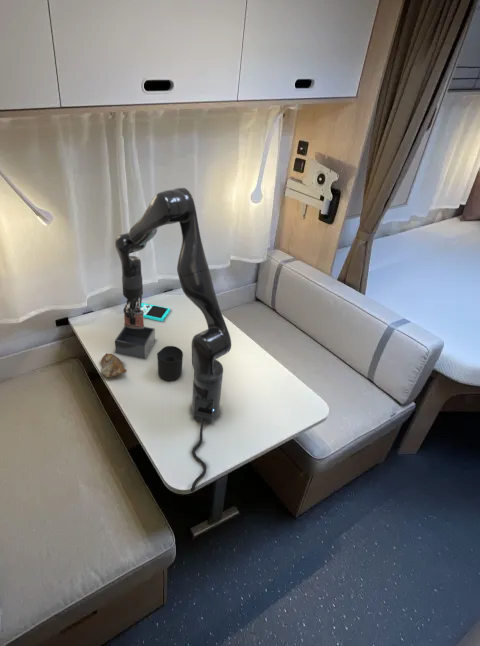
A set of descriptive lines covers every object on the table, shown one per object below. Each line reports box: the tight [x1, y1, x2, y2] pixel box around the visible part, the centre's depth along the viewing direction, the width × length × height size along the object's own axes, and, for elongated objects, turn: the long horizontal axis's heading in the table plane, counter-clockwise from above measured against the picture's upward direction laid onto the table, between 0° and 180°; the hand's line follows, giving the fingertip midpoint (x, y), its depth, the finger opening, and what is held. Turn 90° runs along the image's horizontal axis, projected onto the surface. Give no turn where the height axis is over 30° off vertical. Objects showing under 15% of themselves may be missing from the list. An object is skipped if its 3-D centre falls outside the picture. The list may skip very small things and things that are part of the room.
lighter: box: [123, 303, 145, 329], centre depth 157 cm, size 8×3×10 cm, turn 77°
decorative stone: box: [100, 352, 127, 378], centre depth 152 cm, size 10×4×15 cm
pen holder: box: [156, 345, 184, 383], centre depth 148 cm, size 9×9×10 cm
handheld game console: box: [140, 302, 171, 322], centre depth 186 cm, size 10×16×1 cm, turn 70°
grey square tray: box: [114, 326, 156, 360], centre depth 163 cm, size 12×13×6 cm
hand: (134, 321), depth 158 cm, fingers closed on lighter, 3 cm apart
